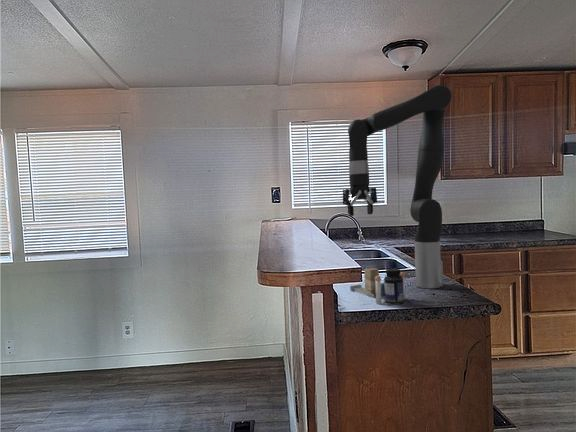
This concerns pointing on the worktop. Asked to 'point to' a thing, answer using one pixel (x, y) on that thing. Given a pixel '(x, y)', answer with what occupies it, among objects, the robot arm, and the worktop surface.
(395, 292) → the pill bottle
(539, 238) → the worktop surface
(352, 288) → the rail
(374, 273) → the kicker
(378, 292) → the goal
